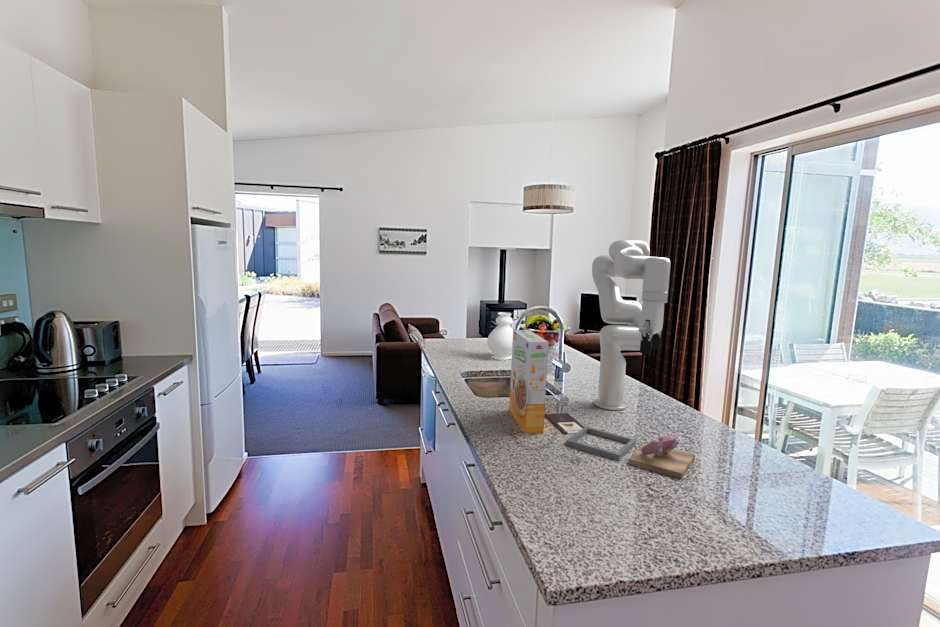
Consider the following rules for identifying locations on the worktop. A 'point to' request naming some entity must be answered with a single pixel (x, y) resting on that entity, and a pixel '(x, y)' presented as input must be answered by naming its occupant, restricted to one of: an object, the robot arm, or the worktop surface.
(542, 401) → the cereal box
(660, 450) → the video game controller
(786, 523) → the worktop surface
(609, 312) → the robot arm
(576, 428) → the chocolate bar
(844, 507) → the worktop surface
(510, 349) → the decorative vase
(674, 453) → the walnut board
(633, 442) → the frame
